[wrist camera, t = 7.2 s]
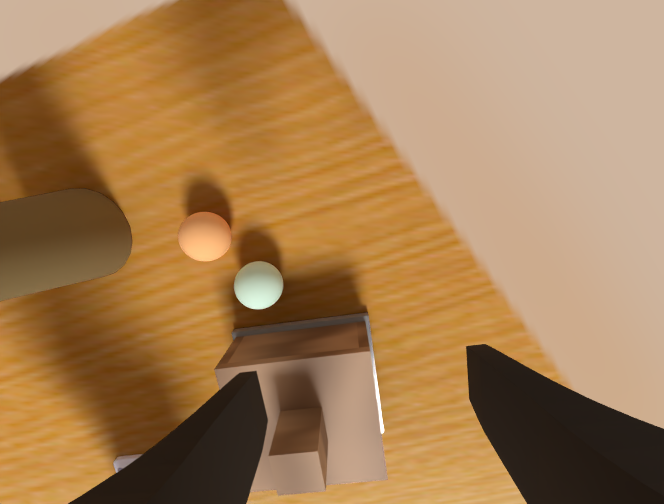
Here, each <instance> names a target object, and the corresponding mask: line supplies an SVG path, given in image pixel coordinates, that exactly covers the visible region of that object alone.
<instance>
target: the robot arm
mask: <svg viewBox="0 0 664 504" xmlns="http://www.w3.org/2000/svg"><path fill="white" fill-rule="evenodd" d="M466 350H467V368H468V385H469V399H470V402H471V404H472V406H473V409H474V411H475V413H476V415H477V418H478V420H479V422H480V424H481V426H482V428H483V430H484V432H485V434H486V435H487V437H488V439H489V441H490V442H491V444H492V446H493V447H494V449H495V451H496V452H497V454H498V456H499V457H500V459H501V461H502V462H503V464H504V466H505V467H506V469H507V471H508V472H509V474H510V476H511V477H512V479H513V481H514V482H515V484H516V486H517V487H518V489H519V491H520V492H521V494H522V496H523V497H524V499H525V501H526V502H527V504H664V429H663V428H660V427H657V426H654V425H652V424H649V423H646V422H644V421H641V420H638V419H636V418H633V417H631V416H629V415H626V414H624V413H622V412H619V411H617V410H614V409H612V408H609V407H607V406H605V405H602V404H600V403H598V402H596V401H593V400H591V399H589V398H587V397H585V396H583V395H581V394H579V393H577V392H574V391H572V390H570V389H568V388H566V387H564V386H562V385H560V384H558V383H556V382H554V381H552V380H550V379H548V378H547V377H545V376H543V375H541V374H539V373H537V372H535V371H533V370H532V369H530V368H528V367H526V366H524V365H523V364H521V363H519V362H517V361H515V360H514V359H512V358H510V357H508V356H506V355H505V354H503V353H501V352H499V351H498V350H496V349H494V348H492V347H490V346H488V345H486V344H481V345H473V346H466ZM267 424H268V418H267V413H266V409H265V405H264V401H263V396H262V392H261V388H260V384H259V379H258V375H257V371H249V372H241V373H239V374H237V375H236V376H235V377H234V378H232V379H231V380H230V381H229V382H228V383H227V384H226V385H225V386H223V387H222V388H221V389H220V390H219V391H218V392H217V393H216V394H215V395H214V396H212V397H211V398H210V399H209V400H208V401H207V402H206V403H205V404H204V405H202V406H201V407H200V408H199V409H198V410H197V411H196V412H195V413H194V414H192V415H191V416H190V417H189V418H188V419H186V420H185V421H184V422H183V423H182V424H181V425H179V426H178V427H177V428H176V429H175V430H173V431H172V432H171V433H170V434H169V435H167V436H166V437H165V438H164V439H162V440H161V441H160V442H159V443H157V444H156V445H155V446H153V447H152V448H151V449H150V450H148V451H147V452H145V453H144V454H137V455H127V456H119V457H117V458H116V460H115V461H114V463H113V465H114V468H115V470H116V474H114V475H112V476H111V477H109V478H108V479H106V480H105V481H103V482H102V483H100V484H99V485H97V486H96V487H94V488H93V489H91V490H89V491H88V492H86V493H85V494H83V495H82V496H80V497H78V498H77V499H75V500H73V501H72V502H70V503H68V504H246V503H247V500H248V496H249V493H250V490H251V487H252V484H253V480H254V477H255V474H256V471H257V467H258V464H259V461H260V458H261V454H262V451H263V446H264V441H265V435H266V429H267Z"/></svg>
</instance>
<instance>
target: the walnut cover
mask: <svg viewBox="0 0 664 504" xmlns="http://www.w3.org/2000/svg"><path fill="white" fill-rule="evenodd" d="M214 370H215V374H216V377H217V381H218V385H219V388H220V389H221V388H222V387H223V386H225V385H226V384H227V383H228V382H229V381H230V380H231V379H232V378H234V377H235V376H236V375H237V374H239V373H241V372H249V371H257V375H258V379H259V384H260V388H261V392H262V396H263V401H264V405H265V409H266V413H267V418H268V424H267V429H266V435H265V441H264V446H263V451H262V454H261V458H260V461H259V464H258V467H257V471H256V474H255V477H254V480H253V484H252V487H251V490H250V492H257V491H268V490H277V494H278V495H289V494H301V493H312V492H323V491H326V485H335V484H346V483H357V482H369V481H380V480H388V477H387V470H386V463H385V456H384V448H383V441H382V434H381V426H380V419H379V412H378V404H377V397H376V390H375V382H374V375H373V368H372V360H371V353H370V347H369V341H368V334H367V328H366V322H365V321H362V322H354V323H346V324H338V325H330V326H322V327H313V328H305V329H297V330H289V331H281V332H273V333H265V334H257V335H249V336H241V337H236V338H235V340H234V341H233V342H232V344H231V345H230V347H229V348H228V350H227V351H226V353H225V354H224V356H223V357H222V359H221V360H220V362H219V363H218V365H217V366H216V368H215V369H214Z"/></svg>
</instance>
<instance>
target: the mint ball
mask: <svg viewBox="0 0 664 504" xmlns="http://www.w3.org/2000/svg"><path fill="white" fill-rule="evenodd" d="M282 290H283V279H282V276H281V274H280V272H279V271H278V269H277V268H276V267H274V266H273V265H272V264H270V263H267V262H263V261H255V262H251V263H249V264H247V265H245V266H244V267H242V268H241V269H240V271H239V272H238V273H237V275H236V278H235V281H234V291H235V294H236V296H237V298H238V300H239V301H240V302H241V303H242V304H243V305H245V306H246V307H249V308H252V309H264V308H267V307H270V306H271V305H273V304H274V303H275V302H276V301H277V300H278V299H279V297H280V296H281V294H282Z"/></svg>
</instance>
